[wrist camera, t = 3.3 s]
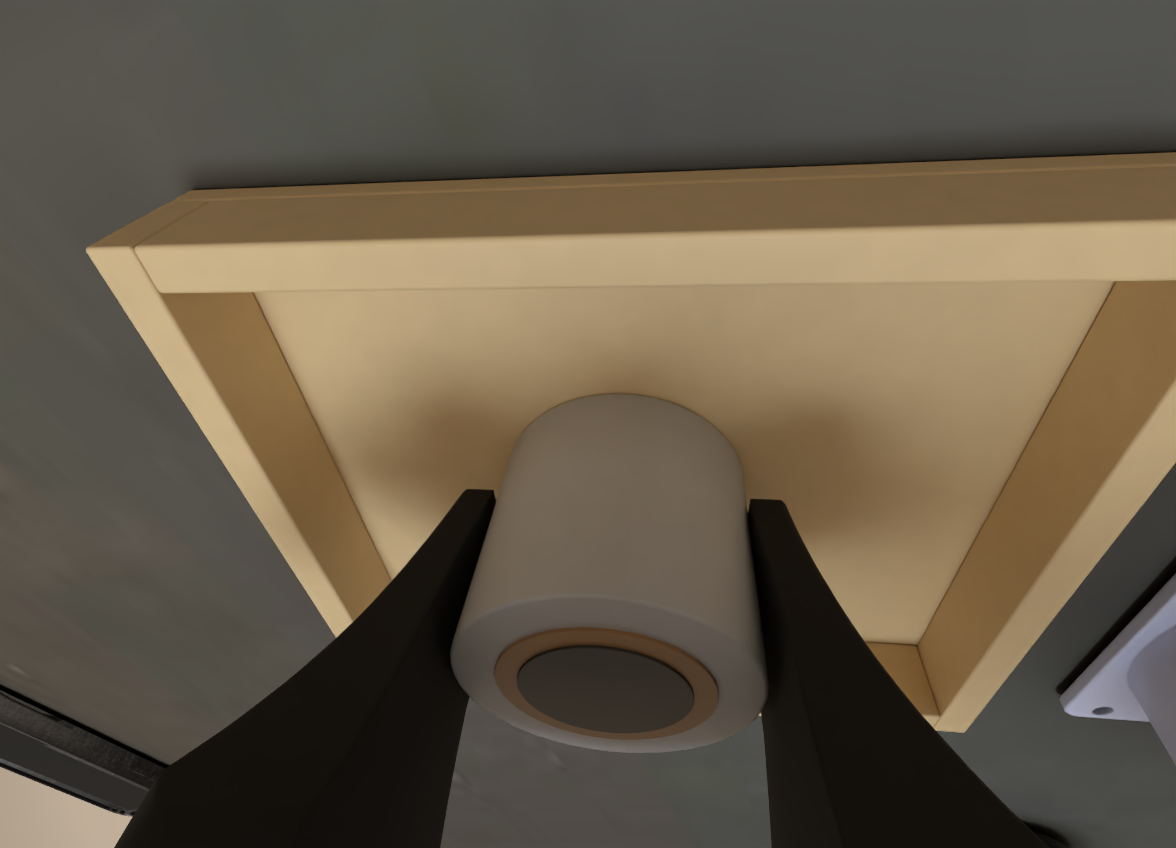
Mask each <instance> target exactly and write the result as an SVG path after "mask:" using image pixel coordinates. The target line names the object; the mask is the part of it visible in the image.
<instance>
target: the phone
mask: <svg viewBox="0 0 1176 848" xmlns="http://www.w3.org/2000/svg"><path fill="white" fill-rule="evenodd" d="M0 767H2V768H5V769H7V770H10V771H12V772H14V773H17V774H19V775H22V776H25V777H27V778H29V779H32V780H34V781H37V782H39V783H42V784H44V785H46V786H49V787H52V788H54V789H56V790H59V791H61V792H64V793H66V794H69V795H71V796H74V797H76V798H79V799H81V800H84V801H86V802H89V803H91V804H93V805H96V806H98V807H101V808H103V809H106V810H108V811H111V812H114V813H117V814H121V815H125V816H134V814H135V812H136V811H137V809H138V807H139V806H140V804H141V802H142V801H143V799H144V797H145V796H146V794H147V792H148V791H149V789H150V788H151V786H152V785H153V783H154V782H155V780H156V779H157V777H158V776H159V774H160V773H161V771H162V770H164V769H165V768H163V767H161V766H159V765H156V764H154V763H152V762H150V761H148V760H146V759H144V758H142V757H140V756H138V755H136V754H133V753H131V752H129V751H127V750H125V749H123V748H121V747H119V746H117V745H114V744H112V743H110V742H108V741H106V740H104V739H102V738H100V737H98V736H96V735H93V734H91V733H89V732H87V731H85V730H83V729H81V728H79V727H77V726H75V725H72V724H70V723H68V722H66V721H64V720H62V719H60V718H58V717H56V716H54V715H51V714H49V713H47V712H45V711H43V710H41V709H39V708H37V707H35V706H33V705H30V704H28V703H26V702H24V701H22V700H20V699H18V698H16V697H14V696H11V695H9V694H7V693H5V692H3V691H1V690H0Z"/></svg>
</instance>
